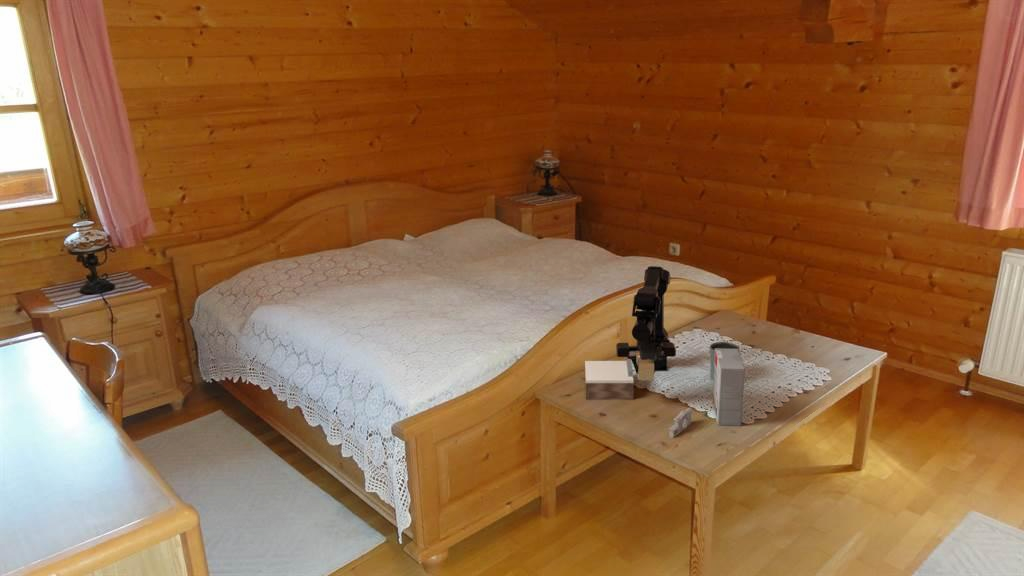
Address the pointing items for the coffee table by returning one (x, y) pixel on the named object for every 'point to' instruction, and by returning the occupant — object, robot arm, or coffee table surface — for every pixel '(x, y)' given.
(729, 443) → the coffee table surface
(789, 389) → the coffee table surface
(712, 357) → the drinking glass
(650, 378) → the block
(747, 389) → the coffee table surface
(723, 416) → the hard drive box
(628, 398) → the storage box
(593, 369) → the box lid
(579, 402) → the coffee table surface
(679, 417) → the garden wall model
